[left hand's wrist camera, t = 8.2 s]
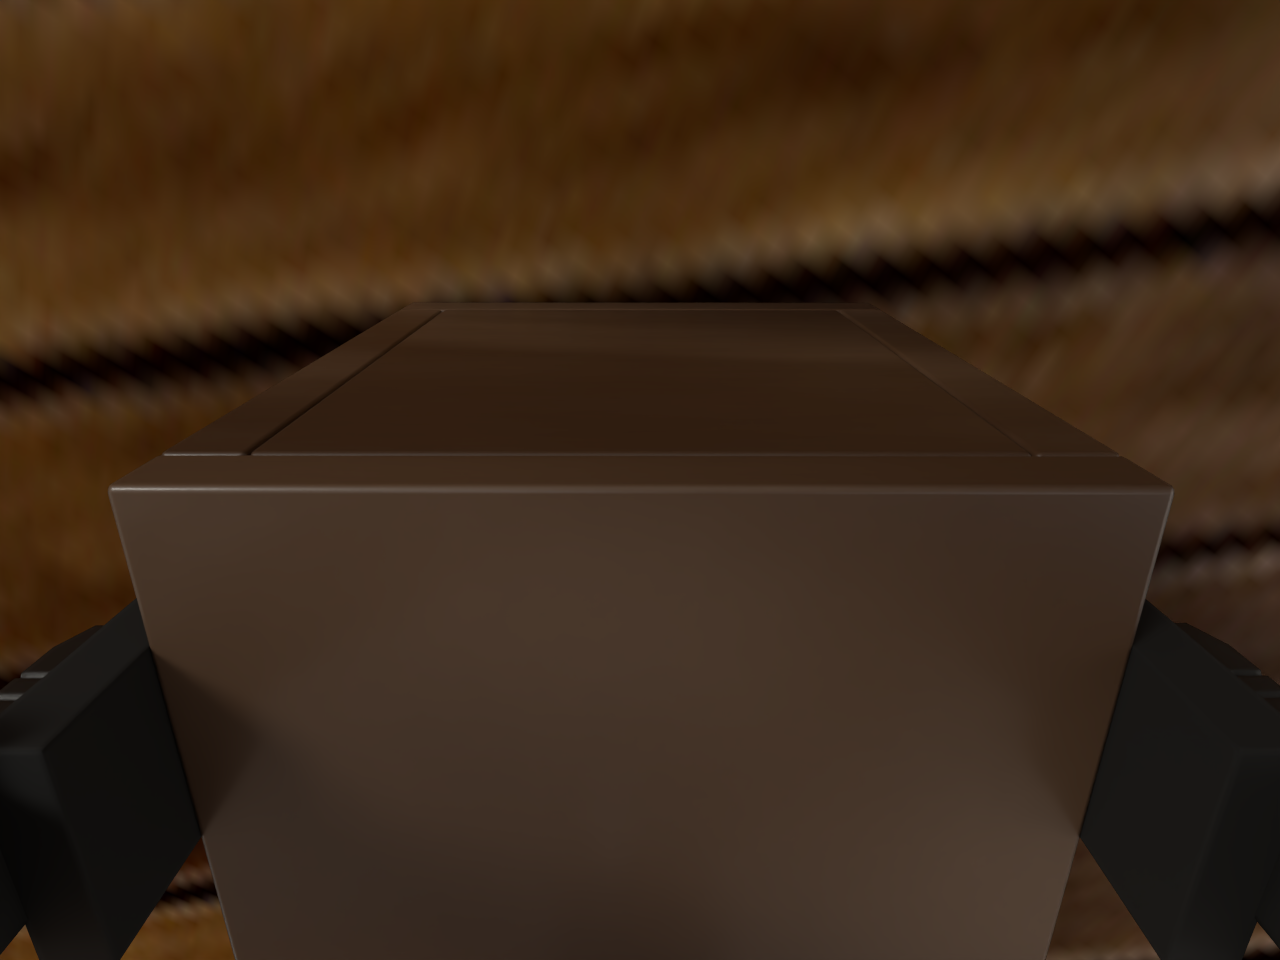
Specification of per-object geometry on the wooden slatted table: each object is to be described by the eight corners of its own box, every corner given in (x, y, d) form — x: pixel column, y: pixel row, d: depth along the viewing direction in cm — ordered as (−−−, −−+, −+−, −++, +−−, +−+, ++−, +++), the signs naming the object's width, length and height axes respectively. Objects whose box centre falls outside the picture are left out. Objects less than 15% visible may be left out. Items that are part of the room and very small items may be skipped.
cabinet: (812, 830, 24) (943, 1336, 14) (467, 829, 24) (334, 1335, 14) (870, 302, 18) (1180, 486, 8) (411, 302, 18) (101, 486, 8)
